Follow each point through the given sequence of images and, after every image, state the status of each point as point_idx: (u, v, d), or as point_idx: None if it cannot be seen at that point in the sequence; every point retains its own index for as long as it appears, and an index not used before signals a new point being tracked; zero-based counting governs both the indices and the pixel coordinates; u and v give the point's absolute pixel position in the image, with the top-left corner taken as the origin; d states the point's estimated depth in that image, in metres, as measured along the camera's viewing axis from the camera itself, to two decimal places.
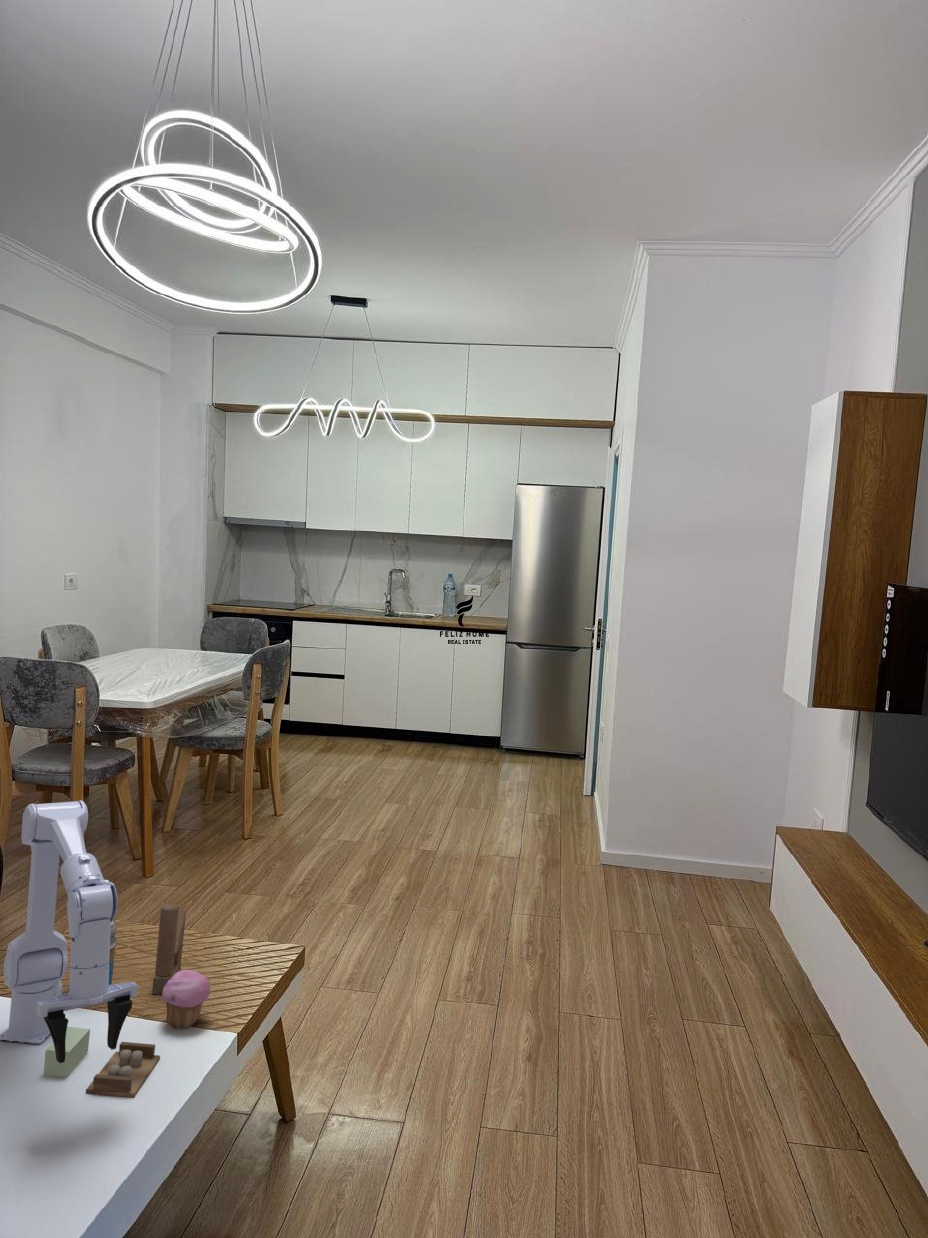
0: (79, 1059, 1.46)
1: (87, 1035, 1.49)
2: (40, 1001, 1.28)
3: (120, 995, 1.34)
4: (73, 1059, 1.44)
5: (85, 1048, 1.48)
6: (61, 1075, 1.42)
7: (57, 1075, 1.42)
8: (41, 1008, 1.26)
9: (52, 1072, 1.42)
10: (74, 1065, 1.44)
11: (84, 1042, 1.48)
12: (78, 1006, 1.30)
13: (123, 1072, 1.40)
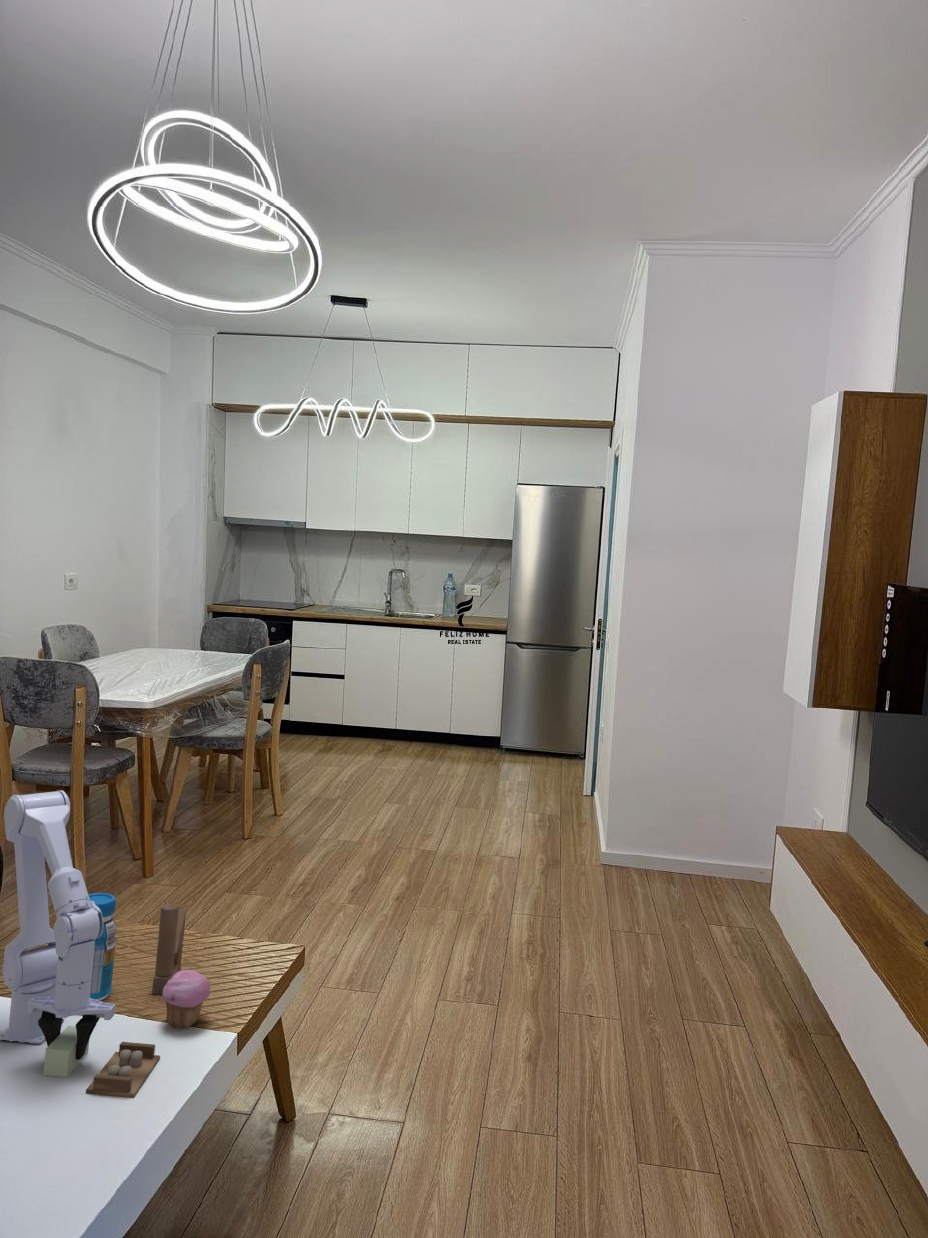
0: None
1: None
2: (34, 997, 1.46)
3: (97, 1014, 1.45)
4: (73, 1058, 1.44)
5: None
6: (61, 1074, 1.42)
7: (57, 1074, 1.42)
8: (27, 1005, 1.45)
9: (52, 1071, 1.42)
10: (74, 1064, 1.44)
11: None
12: None
13: (123, 1072, 1.40)
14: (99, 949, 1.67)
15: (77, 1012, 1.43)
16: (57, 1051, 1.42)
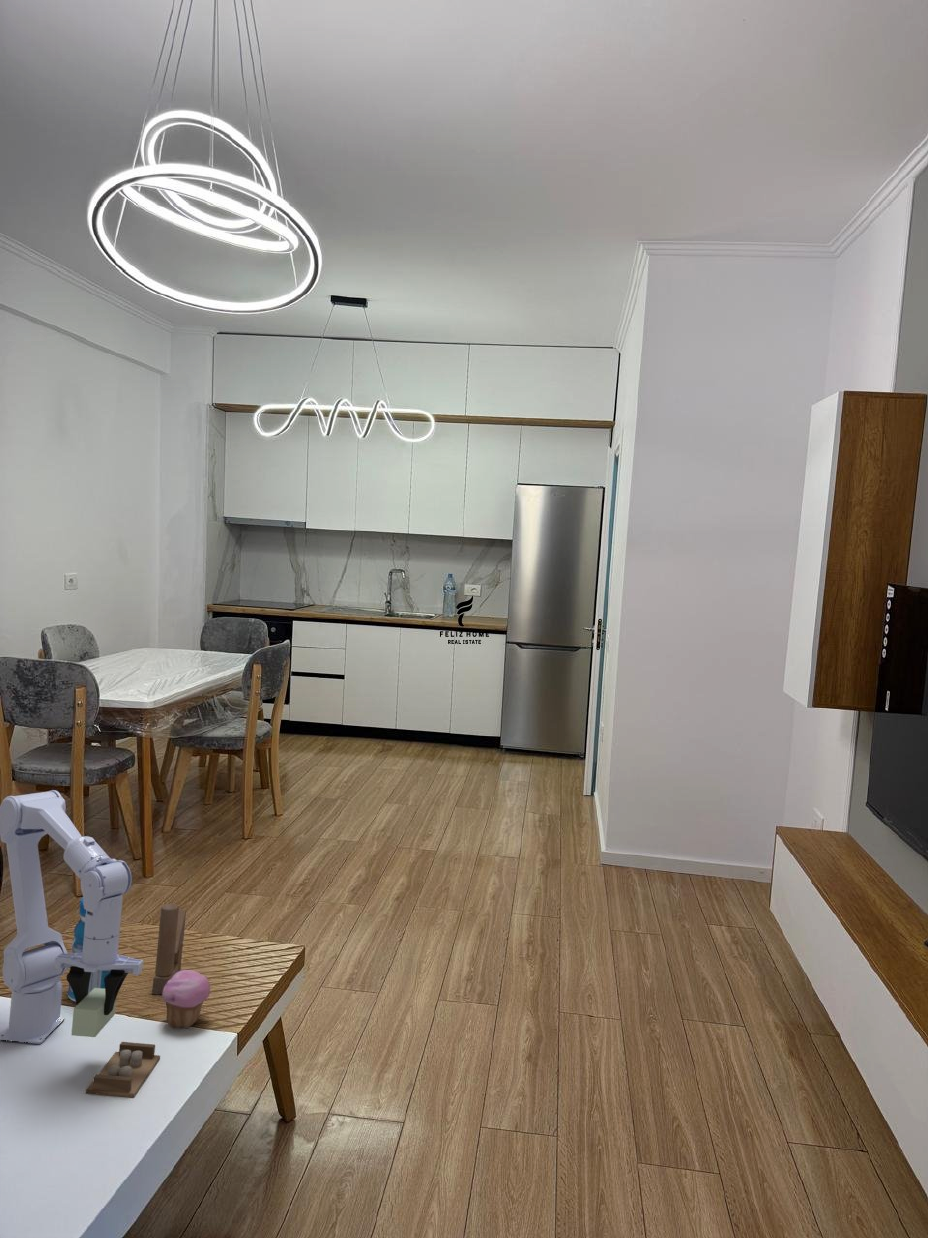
0: (107, 1019, 1.45)
1: None
2: (62, 953, 1.46)
3: (125, 969, 1.45)
4: (101, 1018, 1.43)
5: None
6: (89, 1034, 1.41)
7: (85, 1034, 1.41)
8: (55, 960, 1.44)
9: (80, 1031, 1.41)
10: (102, 1025, 1.43)
11: None
12: None
13: (123, 1072, 1.40)
14: None
15: (105, 966, 1.42)
16: (85, 1010, 1.41)
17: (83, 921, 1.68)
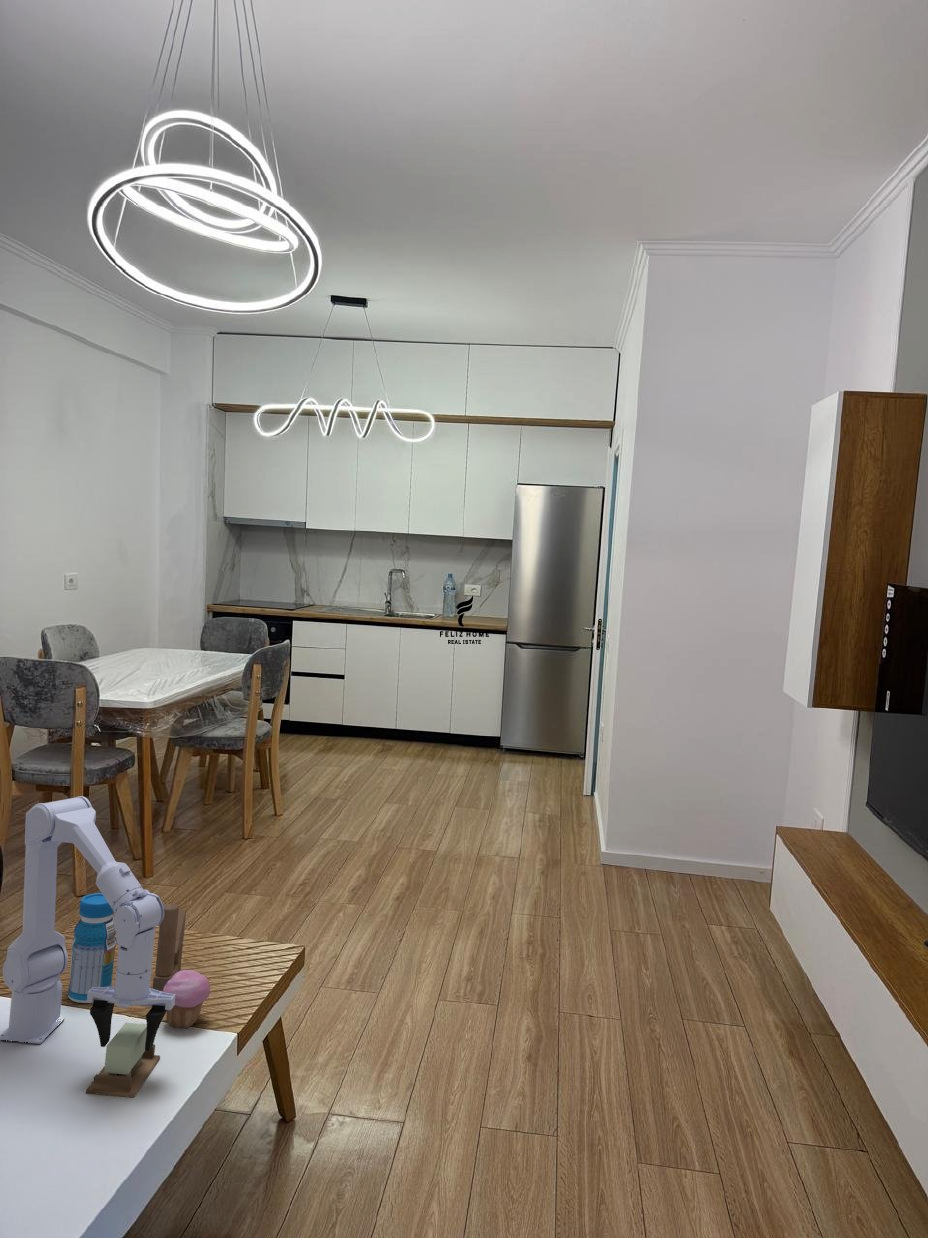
0: (138, 1055, 1.44)
1: (145, 1031, 1.47)
2: (94, 987, 1.44)
3: (158, 1004, 1.43)
4: (133, 1055, 1.42)
5: (143, 1044, 1.46)
6: (122, 1071, 1.40)
7: (118, 1071, 1.40)
8: (87, 995, 1.43)
9: (113, 1068, 1.40)
10: (134, 1061, 1.42)
11: (143, 1038, 1.46)
12: None
13: None
14: (99, 949, 1.67)
15: (138, 1002, 1.41)
16: (118, 1048, 1.40)
17: (83, 921, 1.68)
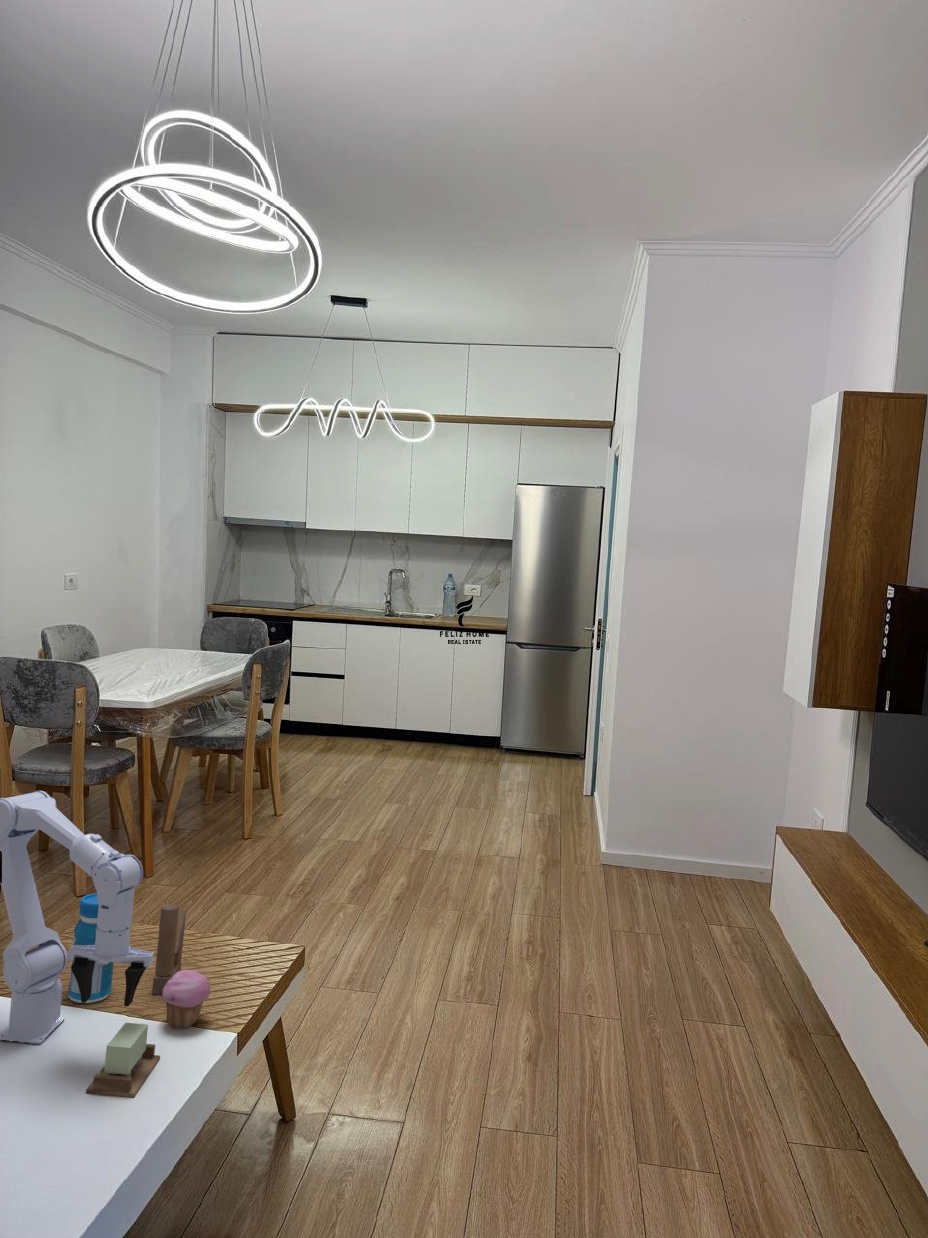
0: (138, 1055, 1.44)
1: (145, 1031, 1.47)
2: (75, 945, 1.49)
3: (137, 961, 1.48)
4: (133, 1055, 1.42)
5: (143, 1044, 1.46)
6: (122, 1071, 1.40)
7: (118, 1071, 1.40)
8: (69, 952, 1.48)
9: (113, 1068, 1.40)
10: (134, 1061, 1.42)
11: (143, 1038, 1.46)
12: None
13: None
14: None
15: (118, 958, 1.46)
16: (118, 1048, 1.40)
17: (83, 921, 1.68)
